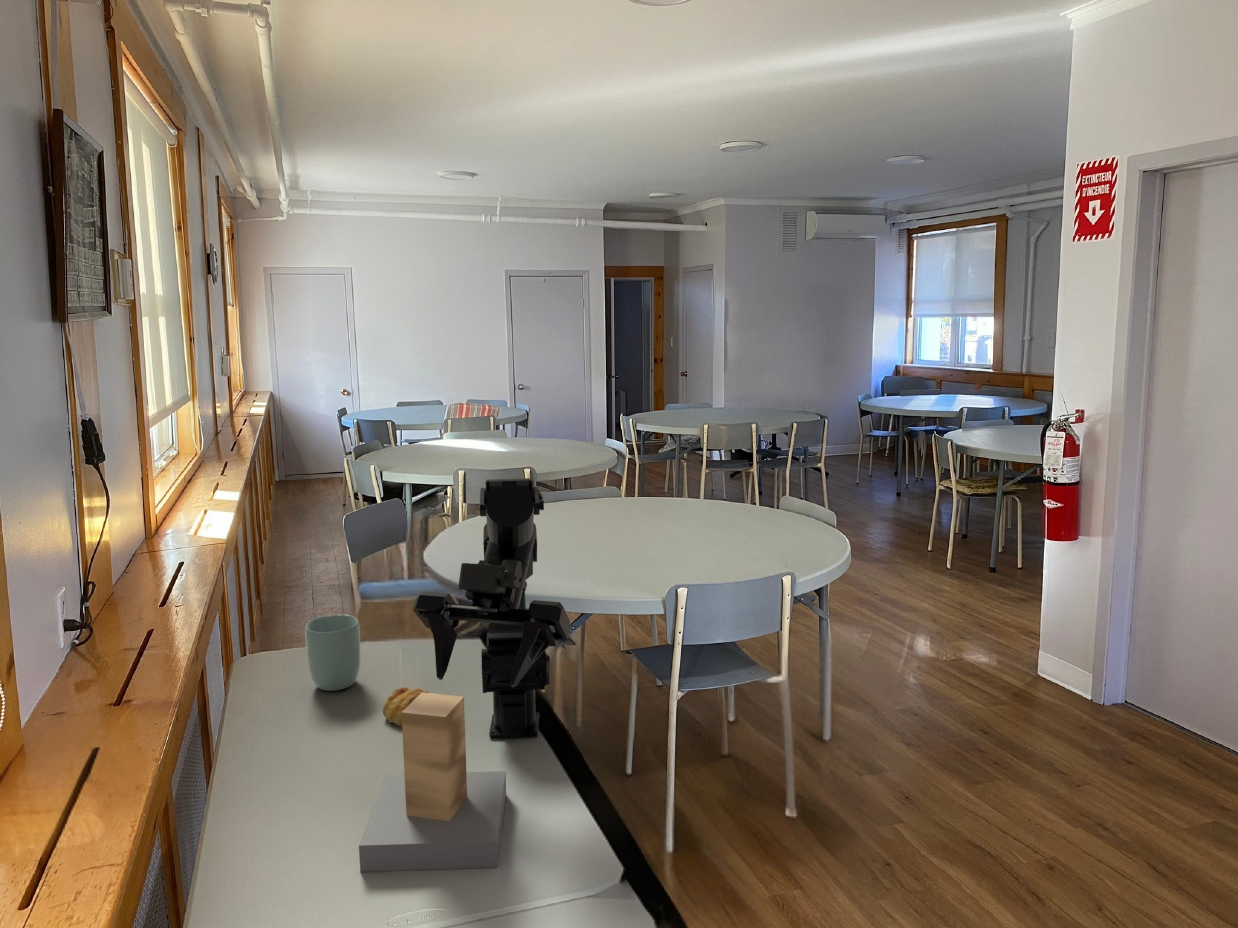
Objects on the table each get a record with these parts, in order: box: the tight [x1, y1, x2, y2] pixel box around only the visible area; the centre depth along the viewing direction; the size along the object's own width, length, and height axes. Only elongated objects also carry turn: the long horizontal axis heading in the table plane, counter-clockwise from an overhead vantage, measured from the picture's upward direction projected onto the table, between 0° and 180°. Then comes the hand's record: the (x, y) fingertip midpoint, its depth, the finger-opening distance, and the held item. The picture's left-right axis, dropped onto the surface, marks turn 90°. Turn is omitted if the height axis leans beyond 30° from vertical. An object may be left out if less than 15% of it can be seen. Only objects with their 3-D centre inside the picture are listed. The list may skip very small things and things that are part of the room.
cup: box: [304, 613, 361, 692], centre depth 137 cm, size 8×8×10 cm
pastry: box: [382, 686, 430, 727], centre depth 127 cm, size 9×7×4 cm
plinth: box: [358, 770, 507, 873], centre depth 101 cm, size 14×14×3 cm
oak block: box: [401, 691, 467, 821], centre depth 99 cm, size 5×5×12 cm
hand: (475, 682), depth 107 cm, fingers open, 9 cm apart
